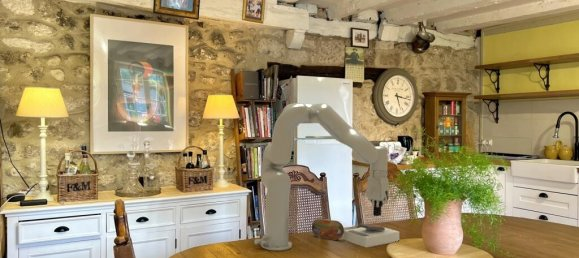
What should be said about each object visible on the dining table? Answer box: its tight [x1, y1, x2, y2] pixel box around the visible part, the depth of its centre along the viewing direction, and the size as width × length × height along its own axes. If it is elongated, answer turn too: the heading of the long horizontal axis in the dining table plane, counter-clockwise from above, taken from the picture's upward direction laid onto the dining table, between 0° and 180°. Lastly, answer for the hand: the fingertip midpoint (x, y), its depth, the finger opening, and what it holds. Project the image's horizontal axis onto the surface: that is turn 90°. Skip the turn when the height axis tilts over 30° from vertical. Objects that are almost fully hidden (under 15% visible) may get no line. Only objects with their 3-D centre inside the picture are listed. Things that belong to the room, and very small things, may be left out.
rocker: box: [358, 223, 386, 231], centre depth 188 cm, size 10×6×1 cm, turn 124°
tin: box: [311, 218, 345, 241], centre depth 190 cm, size 15×3×8 cm, turn 57°
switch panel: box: [343, 224, 400, 248], centre depth 188 cm, size 20×14×5 cm
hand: (377, 215), depth 190 cm, fingers closed
